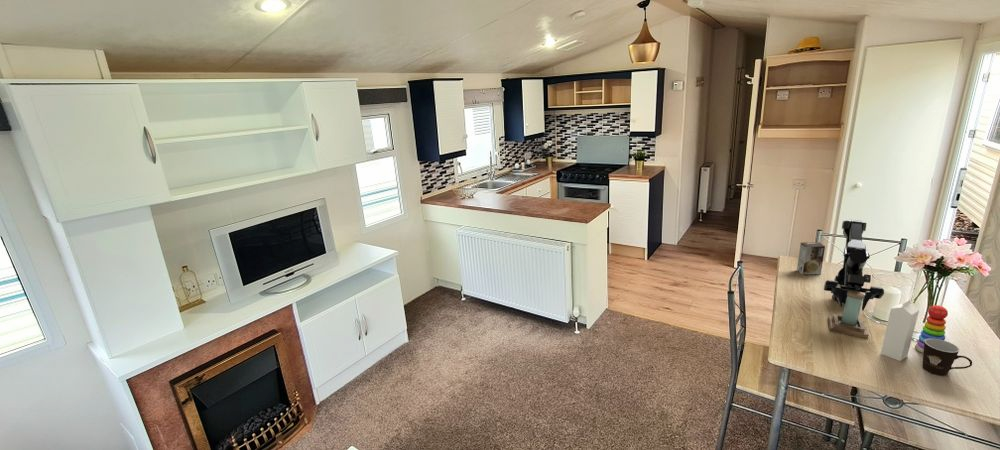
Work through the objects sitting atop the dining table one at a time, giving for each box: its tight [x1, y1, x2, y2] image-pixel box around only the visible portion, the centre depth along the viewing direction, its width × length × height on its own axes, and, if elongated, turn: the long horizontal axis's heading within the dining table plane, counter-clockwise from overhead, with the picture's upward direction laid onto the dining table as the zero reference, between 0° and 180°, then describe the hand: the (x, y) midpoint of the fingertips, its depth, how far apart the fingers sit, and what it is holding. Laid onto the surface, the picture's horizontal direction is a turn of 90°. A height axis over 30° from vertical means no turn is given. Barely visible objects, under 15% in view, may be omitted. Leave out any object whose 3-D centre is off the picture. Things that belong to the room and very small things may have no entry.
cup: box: [841, 291, 865, 326], centre depth 179 cm, size 5×5×14 cm
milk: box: [880, 299, 920, 362], centre depth 159 cm, size 6×6×22 cm
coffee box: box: [796, 241, 826, 276], centre depth 232 cm, size 9×6×16 cm
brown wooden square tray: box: [827, 313, 869, 339], centre depth 181 cm, size 12×12×3 cm
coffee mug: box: [921, 338, 973, 377], centre depth 150 cm, size 12×9×10 cm
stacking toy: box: [914, 304, 949, 354], centre depth 161 cm, size 8×8×19 cm
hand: (851, 308), depth 177 cm, fingers open, 7 cm apart
